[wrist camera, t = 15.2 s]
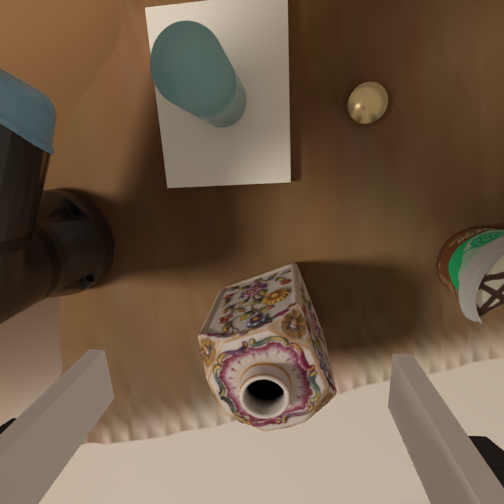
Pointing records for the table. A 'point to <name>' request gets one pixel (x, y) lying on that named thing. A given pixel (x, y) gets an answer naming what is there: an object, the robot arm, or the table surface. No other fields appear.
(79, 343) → the table surface
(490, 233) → the food container
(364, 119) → the beige mottled disc
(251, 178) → the pale board
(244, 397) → the decorative jar
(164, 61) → the teal canister
